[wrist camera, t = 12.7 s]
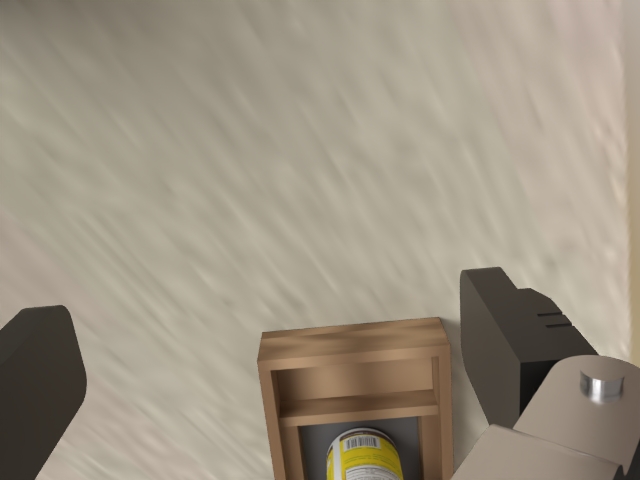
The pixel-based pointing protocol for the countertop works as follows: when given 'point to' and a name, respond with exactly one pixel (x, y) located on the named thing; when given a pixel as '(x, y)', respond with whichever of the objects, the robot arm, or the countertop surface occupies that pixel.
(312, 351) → the walnut crate
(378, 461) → the supplement bottle
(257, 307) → the countertop surface
